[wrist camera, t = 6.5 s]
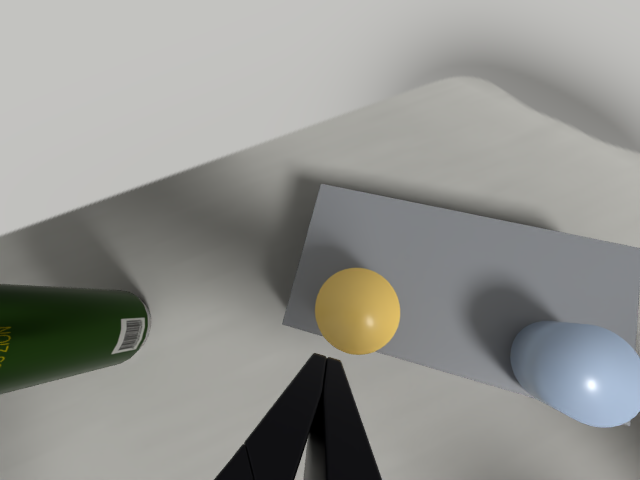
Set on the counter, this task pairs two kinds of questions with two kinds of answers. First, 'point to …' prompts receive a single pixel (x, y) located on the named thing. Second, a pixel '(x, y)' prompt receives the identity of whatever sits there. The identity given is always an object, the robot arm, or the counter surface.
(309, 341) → the counter surface
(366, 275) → the amber button
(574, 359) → the blue button
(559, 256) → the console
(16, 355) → the beer can
